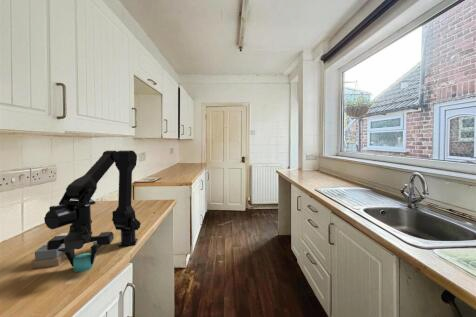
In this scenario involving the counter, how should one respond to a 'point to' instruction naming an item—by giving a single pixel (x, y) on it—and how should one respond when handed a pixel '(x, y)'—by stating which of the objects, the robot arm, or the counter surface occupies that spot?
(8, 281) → the counter surface
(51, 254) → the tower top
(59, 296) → the counter surface
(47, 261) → the tower base
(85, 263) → the teal round block
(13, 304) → the counter surface
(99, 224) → the counter surface
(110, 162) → the robot arm
